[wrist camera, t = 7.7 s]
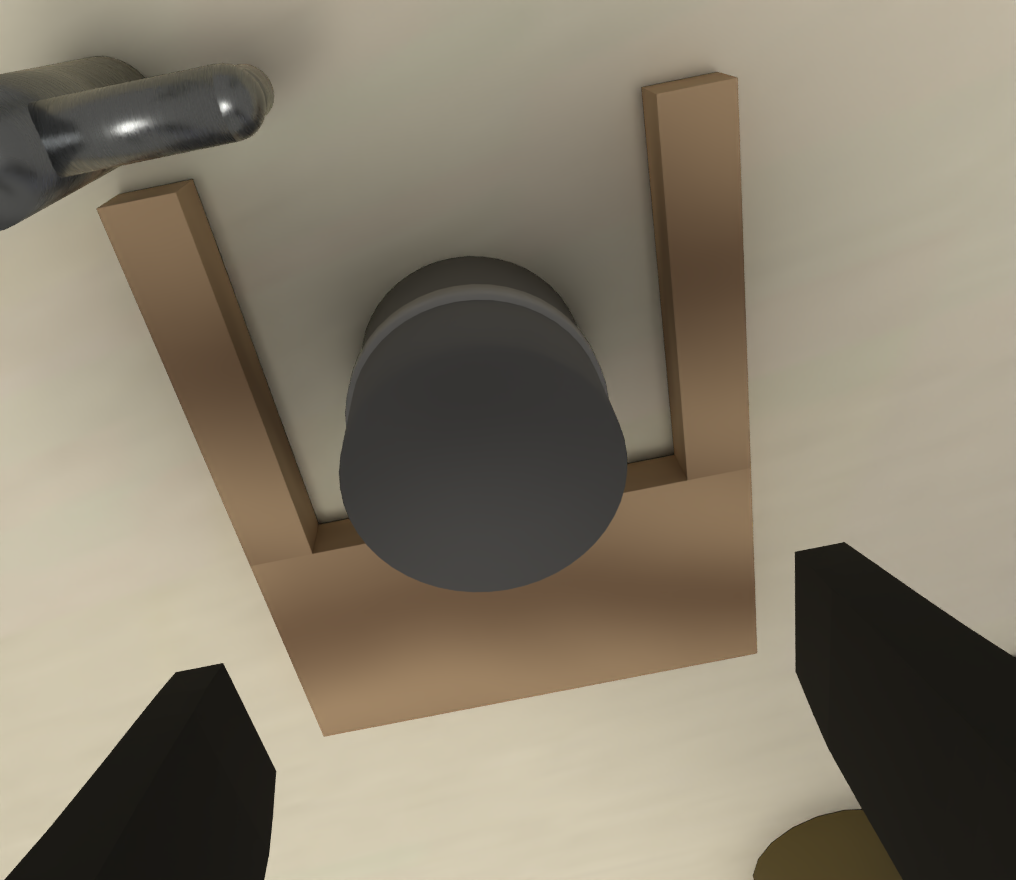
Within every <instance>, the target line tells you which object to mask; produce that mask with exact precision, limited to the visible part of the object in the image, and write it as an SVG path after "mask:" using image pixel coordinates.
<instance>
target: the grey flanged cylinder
mask: <svg viewBox="0 0 1016 880" xmlns="http://www.w3.org/2000/svg"><path fill="white" fill-rule="evenodd" d="M345 416H346V431H345V436H344V441H343V446H342V451H341V456H340V468H339V478H340V490H341V494H342V499H343V503H344V506H345V509H346V511H347V514H348V517H349V519H350V521H351V523H352V524H353V526H354V528H355V530H356V531H357V533H358V534H359V536H360V537H361V538H362V540H363V541H364V542H365V543H366V545H367V546H368V547H369V548H370V549H371V550H372V551H373V552H374V553H375V554H376V555H377V556H378V557H379V558H380V559H382V560H383V561H384V562H386V563H387V564H388V565H390V566H391V567H392V568H394V569H396V570H398V571H399V572H401V573H403V574H404V575H406V576H408V577H411V578H413V579H415V580H418V581H420V582H422V583H425V584H429V585H432V586H435V587H438V588H443V589H449V590H454V591H464V592H493V591H502V590H509V589H513V588H517V587H522V586H525V585H528V584H531V583H534V582H537V581H540V580H542V579H545V578H547V577H549V576H551V575H553V574H555V573H557V572H559V571H560V570H562V569H564V568H565V567H567V566H569V565H570V564H572V563H573V562H574V561H576V560H577V559H578V558H580V557H581V556H582V555H584V554H585V553H586V552H587V551H588V550H589V549H590V548H591V547H592V546H593V545H594V544H595V543H596V542H597V540H598V539H599V538H600V537H601V536H602V534H603V533H604V532H605V531H606V529H607V527H608V526H609V524H610V523H611V521H612V519H613V518H614V516H615V514H616V512H617V509H618V507H619V505H620V503H621V499H622V496H623V492H624V489H625V484H626V477H627V452H626V446H625V440H624V436H623V434H622V431H621V428H620V425H619V422H618V420H617V417H616V415H615V413H614V411H613V408H612V406H611V404H610V401H609V399H608V393H607V387H606V382H605V379H604V376H603V373H602V370H601V368H600V365H599V363H598V361H597V359H596V356H595V354H594V352H593V351H592V349H591V347H590V345H589V343H588V341H587V340H586V338H585V337H584V335H583V334H582V333H581V331H580V330H579V329H578V328H577V325H576V323H575V321H574V319H573V317H572V315H571V313H570V311H569V309H568V307H567V306H566V304H565V303H564V301H563V300H562V299H561V297H560V296H559V295H558V294H557V293H556V292H555V291H554V289H553V288H552V287H551V286H550V285H548V284H547V283H546V282H545V281H544V280H542V279H541V278H540V277H539V276H537V275H535V274H534V273H532V272H530V271H529V270H527V269H525V268H523V267H520V266H518V265H516V264H513V263H510V262H507V261H503V260H500V259H495V258H488V257H471V256H467V257H458V258H451V259H447V260H442V261H438V262H435V263H433V264H430V265H428V266H425V267H423V268H421V269H419V270H417V271H415V272H414V273H412V274H410V275H408V276H407V277H406V278H404V279H403V280H402V281H400V282H399V283H398V284H397V285H396V286H395V287H394V288H392V289H391V290H390V291H389V292H388V293H387V295H386V296H385V297H384V298H383V300H382V301H381V302H380V303H379V305H378V306H377V308H376V310H375V312H374V313H373V315H372V317H371V319H370V322H369V324H368V327H367V329H366V332H365V337H364V341H363V345H362V350H361V352H360V354H359V356H358V358H357V361H356V363H355V366H354V368H353V372H352V376H351V380H350V384H349V389H348V394H347V400H346V411H345Z"/></svg>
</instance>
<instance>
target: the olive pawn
mask: <svg viewBox="0 0 1016 880" xmlns="http://www.w3.org/2000/svg"><path fill="white" fill-rule="evenodd" d="M753 878H754V880H903V879H902V878H901V876H900V874H899V872H898V871H897V869H896V867H895V865H894V864H893V862H892V860H891V858H890V857H889V855H888V853H887V851H886V850H885V848H884V846H883V844H882V843H881V841H880V839H879V837H878V836H877V834H876V832H875V830H874V829H873V827H872V825H871V823H870V822H869V820H868V818H867V816H866V815H865V813H864V811H863V810H844V811H840V812H836V813H832V814H827V815H823V816H819V817H816V818H814V819H812V820H809V821H807V822H805V823H803V824H800V825H798V826H796V827H794V828H792V829H790V830H789V831H788V832H786V833H785V834H784V835H782V836H781V837H779V838H778V839H777V840H775V841H774V842H773V843H771V845H770V846H769V847H768V848H767V850H766V851H765V852H764V853H763V854H762V856H761V857H760V858H759V859H758V863H757V866H756V869H755V872H754V875H753Z"/></svg>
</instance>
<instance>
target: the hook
mask: <svg viewBox="0 0 1016 880" xmlns="http://www.w3.org/2000/svg"><path fill="white" fill-rule="evenodd" d="M273 103H274V91H273V87H272V84H271V82H270V80H269V79H268V77H267V76H266V75H265V74H264V73H263V72H262V71H261V70H260V69H258V68H256V67H254V66H252V65H248V64H238V65H232V64H225V63H219V64H212V65H207V66H203V67H198V68H193V69H188V70H183V71H178V72H174V73H169V74H164V75H159V76H154V77H149V78H144V77H143V76H142V75H141V74H140V73H139V72H138V71H137V70H136V69H134V68H133V67H131V66H130V65H128V64H126V63H125V62H122V61H120V60H118V59H114V58H111V57H104V56H96V57H89V58H84V59H79V60H73V61H68V62H63V63H57V64H52V65H47V66H41V67H36V68H31V69H25V70H20V71H15V72H9V73H4V74H0V231H1V230H5V229H7V228H9V227H11V226H13V225H15V224H17V223H19V222H20V221H22V220H24V219H26V218H28V217H30V216H31V215H33V214H35V213H37V212H39V211H40V210H42V209H44V208H46V207H48V206H49V205H51V204H53V203H55V202H57V201H58V200H60V199H62V198H64V197H66V196H67V195H69V194H71V193H73V192H75V191H76V190H78V189H80V188H82V187H84V186H85V185H87V184H89V183H91V182H93V181H94V180H96V179H98V178H100V177H102V176H103V175H105V174H107V173H109V172H111V171H113V170H114V169H116V168H118V167H120V166H122V165H126V164H131V163H136V162H141V161H146V160H151V159H155V158H160V157H165V156H170V155H175V154H180V153H185V152H190V151H194V150H199V149H204V148H209V147H214V146H219V145H224V144H229V143H233V142H238V141H242V140H245V139H247V138H249V137H251V136H252V135H254V134H255V133H256V132H257V131H258V129H259V128H260V126H261V125H262V123H263V120H264V118H265V116H266V115H267V114H268V113H269V112H270V110H271V108H272V106H273Z"/></svg>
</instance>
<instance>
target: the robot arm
mask: <svg viewBox="0 0 1016 880" xmlns="http://www.w3.org/2000/svg"><path fill="white" fill-rule="evenodd" d="M795 651H796V674H797V676H798V678H799V681H800V683H801V686H802V688H803V691H804V693H805V695H806V698H807V700H808V703H809V705H810V708H811V710H812V712H813V715H814V717H815V719H816V722H817V724H818V726H819V728H820V731H821V733H822V735H823V738H824V740H825V742H826V744H827V747H828V749H829V751H830V752H831V754H832V756H833V758H834V760H835V761H836V763H837V765H838V767H839V769H840V770H841V772H842V774H843V776H844V778H845V779H846V781H847V783H848V785H849V786H850V788H851V790H852V792H853V793H854V795H855V797H856V799H857V801H858V802H859V804H860V806H861V808H862V809H863V811H864V813H865V815H866V816H867V818H868V820H869V822H870V823H871V825H872V827H873V829H874V830H875V832H876V834H877V836H878V837H879V839H880V841H881V843H882V844H883V846H884V848H885V850H886V851H887V853H888V855H889V857H890V858H891V860H892V862H893V864H894V865H895V867H896V869H897V871H898V872H899V874H900V876H901V878H902V879H903V880H1016V658H1015V657H1013V656H1012V655H1010V654H1008V653H1007V652H1005V651H1004V650H1002V649H1001V648H999V647H998V646H996V645H995V644H993V643H991V642H990V641H988V640H987V639H985V638H984V637H982V636H981V635H979V634H978V633H976V632H974V631H973V630H971V629H970V628H968V627H967V626H965V625H964V624H962V623H961V622H959V621H958V620H956V619H955V618H953V617H952V616H950V615H949V614H947V613H946V612H944V611H943V610H942V609H940V608H939V607H937V606H936V605H934V604H933V603H931V602H930V601H928V600H927V599H926V598H924V597H923V596H921V595H920V594H918V593H917V592H915V591H914V590H912V589H911V588H910V587H908V586H907V585H905V584H904V583H902V582H901V581H900V580H898V579H897V578H895V577H894V576H892V575H891V574H889V573H888V572H887V571H885V570H884V569H882V568H881V567H879V566H878V565H877V564H875V563H874V562H872V561H871V560H869V559H868V558H866V557H865V556H864V555H862V554H861V553H859V552H858V551H856V550H855V549H853V548H852V547H851V546H849V545H848V544H846V543H845V542H843V543H838V544H833V545H828V546H823V547H817V548H812V549H807V550H802V551H797V552H795ZM275 779H276V770H275V768H274V766H273V764H272V762H271V760H270V758H269V756H268V754H267V751H266V749H265V747H264V745H263V743H262V741H261V739H260V737H259V735H258V733H257V731H256V729H255V727H254V725H253V723H252V721H251V719H250V717H249V715H248V713H247V711H246V709H245V707H244V705H243V703H242V701H241V699H240V697H239V694H238V692H237V690H236V688H235V686H234V684H233V682H232V680H231V678H230V676H229V674H228V672H227V670H226V668H225V666H224V664H223V663H221V664H216V665H211V666H206V667H201V668H196V669H190V670H185V671H180V672H176V673H175V674H174V675H173V676H172V677H171V678H170V680H169V681H168V682H167V683H166V684H165V685H164V687H163V688H162V689H161V690H160V691H159V693H158V694H157V695H156V696H155V698H154V699H153V700H152V701H151V703H150V704H149V705H148V706H147V707H146V709H145V710H144V711H143V712H142V714H141V715H140V716H139V718H138V719H137V720H136V721H135V723H134V724H133V725H132V726H131V728H130V729H129V730H128V731H127V733H126V734H125V735H124V736H123V738H122V739H121V740H120V741H119V743H118V744H117V745H116V746H115V748H114V749H113V750H112V752H111V753H110V754H109V755H108V757H107V758H106V759H105V760H104V762H103V763H102V764H101V765H100V767H99V768H98V769H97V770H96V771H95V773H94V774H93V775H92V776H91V778H90V779H89V780H88V781H87V783H86V784H85V785H84V786H83V787H82V789H81V790H80V791H79V792H78V794H77V795H76V796H75V797H74V799H73V800H72V801H71V802H70V803H69V805H68V806H67V807H66V808H65V810H64V811H63V812H62V813H61V815H60V816H59V817H58V818H57V819H56V821H55V822H54V823H53V824H52V826H51V827H50V828H49V829H48V830H47V832H46V833H45V834H44V835H43V836H42V837H41V838H40V840H39V841H38V842H37V843H36V844H35V845H34V846H33V848H32V849H31V850H30V851H29V852H28V853H27V854H26V856H25V857H24V858H23V859H22V860H21V861H20V863H19V864H18V865H17V866H16V867H15V868H14V869H13V871H12V872H11V873H10V874H9V875H8V876H7V877H6V879H5V880H264V878H265V873H266V867H267V862H268V857H269V850H270V840H271V830H272V820H273V807H274V793H275Z"/></svg>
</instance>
